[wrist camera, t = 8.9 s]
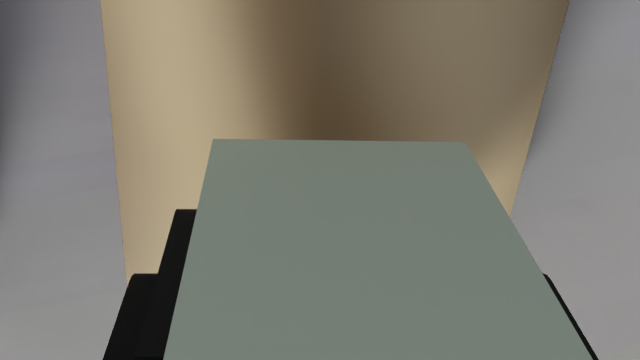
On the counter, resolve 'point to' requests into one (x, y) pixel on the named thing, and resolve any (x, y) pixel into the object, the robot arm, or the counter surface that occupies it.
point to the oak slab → (314, 87)
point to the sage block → (359, 259)
